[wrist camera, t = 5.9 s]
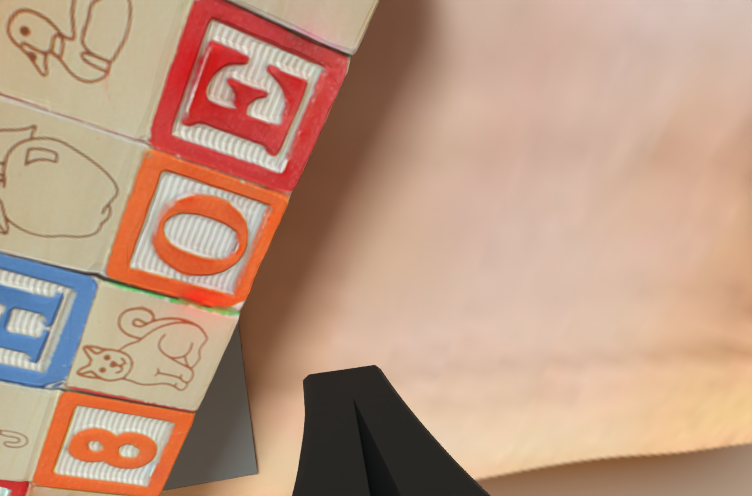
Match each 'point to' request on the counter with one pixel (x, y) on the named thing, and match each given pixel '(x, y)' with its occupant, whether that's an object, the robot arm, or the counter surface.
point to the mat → (219, 428)
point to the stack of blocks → (142, 214)
